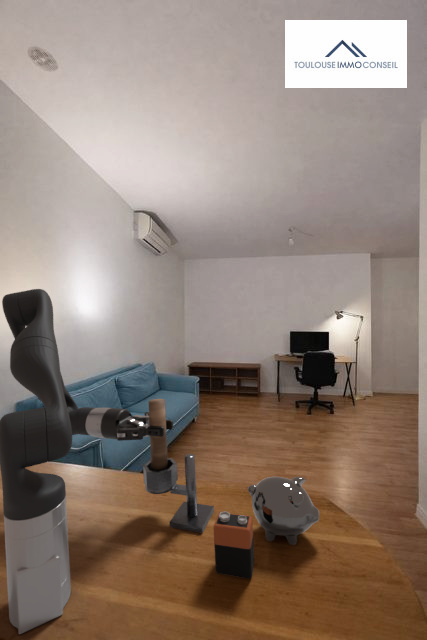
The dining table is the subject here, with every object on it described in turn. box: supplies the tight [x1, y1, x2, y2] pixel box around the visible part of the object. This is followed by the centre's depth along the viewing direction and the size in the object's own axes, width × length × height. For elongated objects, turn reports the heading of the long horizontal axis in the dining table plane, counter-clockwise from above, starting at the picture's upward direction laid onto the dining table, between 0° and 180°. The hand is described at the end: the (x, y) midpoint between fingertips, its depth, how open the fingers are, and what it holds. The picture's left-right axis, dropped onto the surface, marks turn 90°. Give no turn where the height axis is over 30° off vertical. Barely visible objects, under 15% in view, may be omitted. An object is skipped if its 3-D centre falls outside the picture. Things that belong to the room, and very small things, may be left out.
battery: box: [213, 511, 255, 580], centre depth 58 cm, size 4×7×10 cm, turn 75°
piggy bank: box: [247, 476, 320, 546], centre depth 66 cm, size 11×15×12 cm
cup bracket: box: [142, 453, 215, 534], centre depth 74 cm, size 16×8×15 cm, turn 71°
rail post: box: [148, 398, 169, 470], centre depth 75 cm, size 4×4×16 cm
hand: (168, 428), depth 74 cm, fingers closed on rail post, 4 cm apart
